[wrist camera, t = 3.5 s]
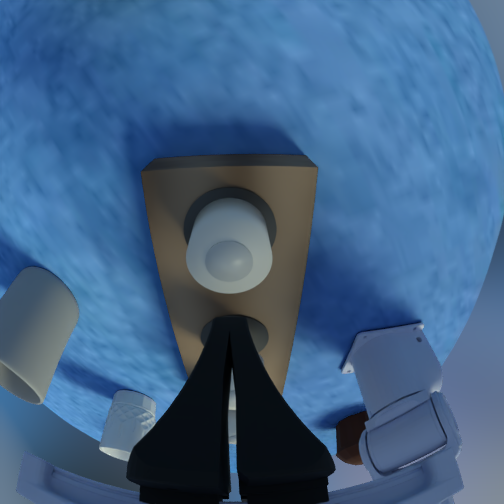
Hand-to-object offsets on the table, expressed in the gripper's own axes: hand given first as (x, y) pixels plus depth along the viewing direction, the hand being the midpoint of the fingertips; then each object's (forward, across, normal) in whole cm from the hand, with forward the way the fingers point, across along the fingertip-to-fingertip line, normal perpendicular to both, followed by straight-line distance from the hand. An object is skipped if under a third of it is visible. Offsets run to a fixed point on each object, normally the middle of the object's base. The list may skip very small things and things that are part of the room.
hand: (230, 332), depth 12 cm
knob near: (+7, 0, -1) cm, 7 cm away
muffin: (+10, -23, +43) cm, 50 cm away
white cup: (+10, +16, +29) cm, 34 cm away
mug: (+10, +22, +8) cm, 25 cm away
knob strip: (+10, 0, +9) cm, 13 cm away
